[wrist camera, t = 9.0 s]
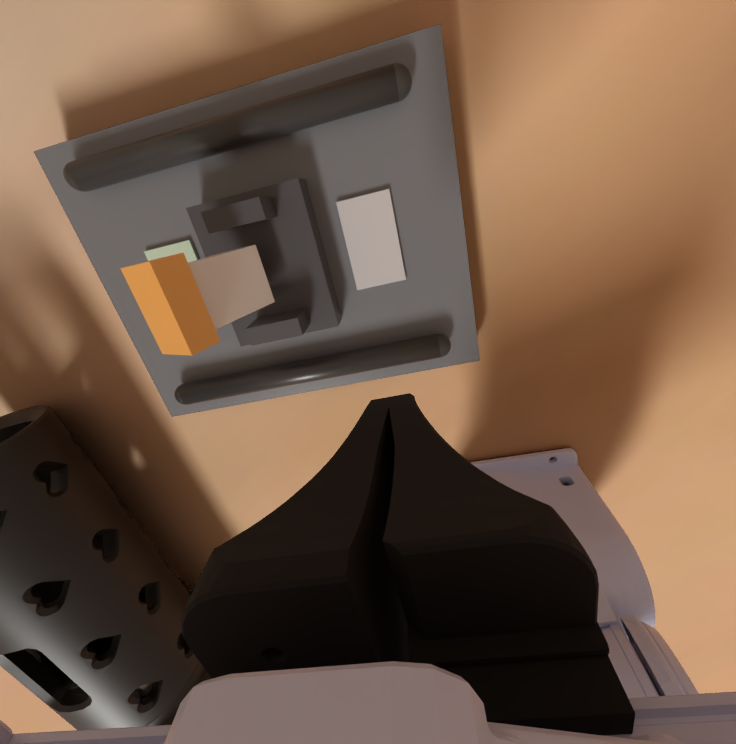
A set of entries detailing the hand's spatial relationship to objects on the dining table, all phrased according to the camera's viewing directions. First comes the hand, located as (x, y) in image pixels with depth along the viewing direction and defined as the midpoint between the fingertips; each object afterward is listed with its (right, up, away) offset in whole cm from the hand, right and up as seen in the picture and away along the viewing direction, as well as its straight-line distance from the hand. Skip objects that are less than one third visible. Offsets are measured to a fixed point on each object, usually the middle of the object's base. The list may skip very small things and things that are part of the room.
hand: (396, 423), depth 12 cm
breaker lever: (-5, +6, +5) cm, 9 cm away
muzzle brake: (-18, -12, +19) cm, 29 cm away
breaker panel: (-5, +8, +8) cm, 12 cm away
